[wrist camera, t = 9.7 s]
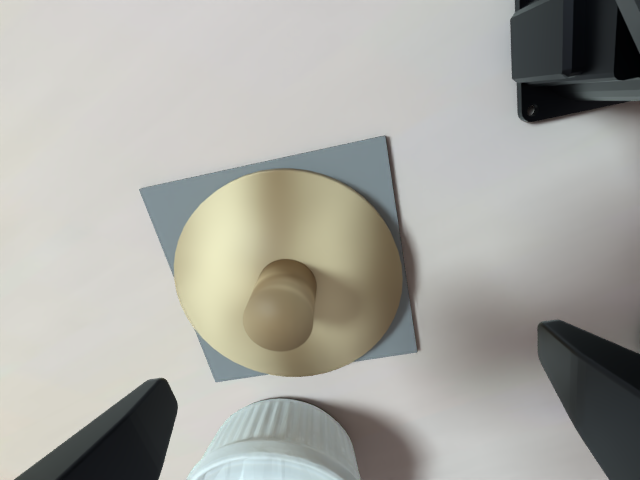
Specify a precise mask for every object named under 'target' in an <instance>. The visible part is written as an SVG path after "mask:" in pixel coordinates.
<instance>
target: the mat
mask: <svg viewBox="0 0 640 480" xmlns="http://www.w3.org/2000/svg"><path fill="white" fill-rule="evenodd" d="M275 168H294V169H302V170H309V171H313V172H317V173H321V174H324V175H326V176H329V177H331V178H334V179H336V180H338V181H340V182H342V183H344V184H346V185H347V186H349V187H351V188H352V189H354V190H355V191H356V192H358V193H359V194H360V195H362V196H363V197H364V198H365V199H366V200H367V201H368V202H369V203H370V204H371V205H372V206H373V207H374V208H375V209H376V210H377V212H378V213H379V214H380V215H381V217H382V218H383V220H384V221H385V223H386V225H387V227H388V228H389V230H390V232H391V234H392V237H393V239H394V242H395V244H396V247H397V249H398V252H399V256H400V261H401V265H402V277H403V281H402V294H401V298H400V303H399V307H398V309H397V312H396V315H395V317H394V319H393V321H392V323H391V325H390V326H389V328H388V330H387V331H386V332H385V334H384V335H383V336H382V338H381V339H380V340H379V341H378V342H377V343H376V344H375V345H374V346H373V347H372V348H371V349H370V350H369V351H368V352H366V353H365V354H364V355H363V356H361V357H360V358H358V359H356V360H355V361H362V360H369V359H376V358H382V357H389V356H396V355H403V354H409V353H416V352H417V347H416V341H415V334H414V327H413V320H412V314H411V307H410V300H409V293H408V287H407V280H406V273H405V266H404V260H403V253H402V246H401V239H400V233H399V226H398V219H397V212H396V206H395V199H394V192H393V185H392V179H391V172H390V165H389V158H388V152H387V145H386V138H385V136H380V137H375V138H371V139H366V140H362V141H357V142H352V143H348V144H343V145H339V146H334V147H329V148H325V149H320V150H316V151H311V152H306V153H302V154H297V155H292V156H288V157H283V158H279V159H274V160H269V161H265V162H260V163H256V164H251V165H246V166H242V167H237V168H233V169H228V170H223V171H219V172H214V173H210V174H205V175H200V176H196V177H191V178H186V179H182V180H177V181H173V182H168V183H163V184H159V185H154V186H150V187H145V188H141V189H139V191H140V193H141V196H142V198H143V201H144V203H145V206H146V208H147V211H148V213H149V216H150V218H151V221H152V223H153V226H154V228H155V231H156V233H157V236H158V238H159V241H160V243H161V246H162V248H163V251H164V253H165V256H166V259H167V261H168V264H169V266H170V269H171V271H172V274H173V276H174V259H175V251H176V248H177V244H178V240H179V237H180V235H181V233H182V230H183V228H184V226H185V224H186V223H187V221H188V220H189V218H190V217H191V215H192V214H193V213H194V211H195V210H196V209H197V208H198V207H199V206H200V204H201V203H202V202H204V201H205V200H206V199H207V198H208V197H209V196H211V195H212V194H213V193H214V192H216V191H217V190H218V189H220V188H221V187H223V186H224V185H226V184H228V183H229V182H231V181H233V180H235V179H237V178H239V177H242V176H244V175H247V174H250V173H254V172H257V171H261V170H268V169H275ZM195 331H196V330H195ZM196 334H197V337H198V339H199V342H200V344H201V347H202V349H203V352H204V354H205V357H206V359H207V362H208V364H209V367H210V369H211V372H212V374H213V377H214V379H215V382H221V381H228V380H234V379H241V378H248V377H255V376H261V375H268V374H266V373H261V372H258V371H255V370H252V369H249V368H246V367H244V366H242V365H239V364H237V363H235V362H233V361H232V360H230V359H228V358H226V357H225V356H223V355H222V354H220V353H219V352H218V351H216V350H215V349H214V348H212V347H211V346H210V345H209V344H208V343H207V342H206V341H205V340H204V339H203V338H202V337H201V336H200V335H199V333H198V332H197V331H196ZM355 361H353V362H355Z"/></svg>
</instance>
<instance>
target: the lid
mask: <svg viewBox="0 0 640 480" xmlns="http://www.w3.org/2000/svg"><path fill="white" fill-rule="evenodd" d="M174 280H175V286H176V291H177V295H178V298H179V301H180V304H181V306H182V308H183V310H184V312H185V314H186V316H187V318H188V320H189V321H190V323H191V324H192V326H193V327H194V329H195V330H196V331H197V332H198V333H199V335H200V336H201V337H202V338H203V339H204V340H205V341H206V342H207V343H208V344H209V345H210V346H211V347H212V348H214V349H215V350H216V351H218V352H219V353H220V354H222V355H223V356H225V357H226V358H228V359H230V360H232V361H233V362H235V363H237V364H239V365H242V366H244V367H246V368H249V369H252V370H255V371H258V372H261V373H266V374H270V375H276V376H285V377H302V376H313V375H318V374H322V373H327V372H330V371H333V370H336V369H339V368H341V367H343V366H345V365H348V364H350V363H352V362H353V361H355V360H356V359H358V358H360V357H361V356H363V355H364V354H365V353H366V352H368V351H369V350H370V349H371V348H372V347H373V346H374V345H375V344H376V343H377V342H378V341H379V340H380V339H381V338H382V336H383V335H384V334H385V332H386V331H387V330H388V328H389V326H390V325H391V323H392V321H393V319H394V317H395V315H396V312H397V309H398V307H399V303H400V298H401V294H402V281H403V277H402V265H401V261H400V256H399V252H398V249H397V247H396V244H395V242H394V239H393V237H392V234H391V232H390V230H389V228H388V227H387V225H386V223H385V221H384V220H383V218H382V217H381V215H380V214H379V213H378V212H377V210H376V209H375V208H374V207H373V206H372V205H371V204H370V203H369V202H368V201H367V200H366V199H365V198H364V197H363V196H362V195H360V194H359V193H358V192H356V191H355V190H354V189H352V188H351V187H349V186H347V185H346V184H344V183H342V182H340V181H338V180H336V179H334V178H331V177H329V176H326V175H324V174H321V173H317V172H313V171H309V170H302V169H294V168H275V169H268V170H261V171H257V172H254V173H250V174H247V175H244V176H242V177H239V178H237V179H235V180H233V181H231V182H229V183H228V184H226V185H224V186H223V187H221V188H220V189H218V190H217V191H216V192H214V193H213V194H212V195H211V196H209V197H208V198H207V199H206V200H205V201H204V202H202V203H201V204H200V206H199V207H198V208H197V209H196V210H195V211H194V213H193V214H192V215H191V217H190V218H189V220H188V221H187V223H186V224H185V226H184V228H183V230H182V233H181V235H180V237H179V240H178V244H177V248H176V251H175V259H174Z"/></svg>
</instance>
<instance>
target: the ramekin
mask: <svg viewBox="0 0 640 480" xmlns="http://www.w3.org/2000/svg"><path fill="white" fill-rule="evenodd" d="M186 480H361V479H360V475H359V470H358V466H357V462H356V457H355V453H354V449H353V445H352V443H351V440H350V438H349V436H348V435H347V433H346V431H345V430H344V429H343V428H342V427H341V425H340V424H339V423H338V422H337V421H335V419H334V418H332V417H331V416H330V415H329V414H327V413H326V412H325V411H323V410H321V409H320V408H318V407H316V406H314V405H311V404H309V403H306V402H303V401H298V400H293V399H281V398H278V399H268V400H263V401H259V402H256V403H253V404H251V405H248V406H246V407H244V408H242V409H240V410H238V411H237V412H236V413H234V414H232V415H231V416H230V417H229V418H228V419H227V420H226V421H225V422H224V424H223V425H222V426H221V428H220V429H219V431H218V432H217V434H216V436H215V437H214V439H213V441H212V442H211V444H210V445H209V447H208V449H207V450H206V452H205V454H204V455H203V457H202V459H201V460H200V461H199V462H198V463H197V464H196V465H195V467H194V468H193V469H192V471H191V472H190V474H189V475H188V477H187V479H186Z"/></svg>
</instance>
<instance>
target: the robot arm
mask: <svg viewBox="0 0 640 480" xmlns="http://www.w3.org/2000/svg"><path fill="white" fill-rule="evenodd" d="M510 24H511V59H512V79H513V80H514V81H516V82H517V106H518V116H519V118H520V119H521V120H523V121H526V122H534V121H539V120H544V119H548V118H553V117H558V116H562V115H567V114H572V113H577V112H581V111H586V110H591V109H596V108H600V107H605V106H610V105H614V104H619V103H624V102H629V101H640V0H515V13H514V15H513V16H512V18H511V20H510ZM531 105H533V106H534V112H533V114H532V115H530V116H529V115H528V113H527V110H528V108H529V107H530V106H531ZM537 331H538V356H539V360H540V362H541V364H542V366H543V368H544V370H545V372H546V374H547V376H548V378H549V379H550V381H551V383H552V385H553V387H554V389H555V391H556V393H557V395H558V397H559V399H560V400H561V402H562V404H563V406H564V408H565V410H566V412H567V414H568V416H569V418H570V419H571V421H572V423H573V425H574V427H575V428H576V430H577V432H578V433H579V435H580V436H581V438H582V439H583V441H584V443H585V444H586V446H587V447H588V449H589V450H590V452H591V453H592V455H593V456H594V458H595V459H596V461H597V462H598V464H599V465H600V467H601V468H602V470H603V471H604V473H605V474H606V476H607V477H608V479H609V480H640V354H638V353H636V352H634V351H631V350H629V349H627V348H624V347H622V346H620V345H617V344H615V343H613V342H610V341H608V340H606V339H603V338H601V337H599V336H596V335H594V334H592V333H589V332H587V331H585V330H582V329H580V328H578V327H575V326H573V325H571V324H568V323H566V322H564V321H561V320H551V321H544V322H540V323H539V324H538V329H537ZM177 410H178V404H177V400H176V398H175V396H174V394H173V392H172V390H171V388H170V386H169V384H168V382H167V380H166V379H164V378H157V379H150V380H147V381H146V382H144V383H143V384H142V385H140V386H139V387H138V388H136V389H135V390H134V391H132V392H131V393H130V394H128V395H127V396H126V397H124V398H123V399H121V400H120V401H119V402H117V403H116V404H115V405H113V406H112V407H111V408H109V409H108V410H107V411H105V412H104V413H103V414H101V415H100V416H99V417H97V418H96V419H95V420H93V421H92V422H91V423H89V424H88V425H87V426H85V427H84V428H83V429H81V430H80V431H79V432H77V433H76V434H75V435H73V436H72V437H71V438H69V439H68V440H67V441H65V442H64V443H62V444H61V445H60V446H58V447H57V448H56V449H54V450H53V451H52V452H50V453H49V454H48V455H46V456H45V457H44V458H42V459H41V460H40V461H38V462H37V463H36V464H34V465H33V466H32V467H30V468H29V469H28V470H26V471H25V472H24V473H22V474H21V475H20V476H18V477H17V478H16V479H14V480H158V479H159V476H160V473H161V470H162V467H163V463H164V460H165V456H166V452H167V448H168V445H169V441H170V437H171V434H172V430H173V426H174V422H175V419H176V415H177Z"/></svg>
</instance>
